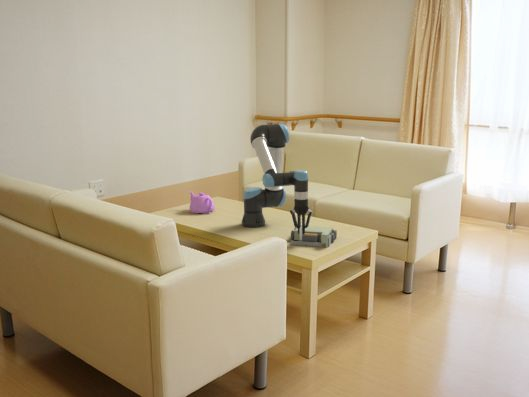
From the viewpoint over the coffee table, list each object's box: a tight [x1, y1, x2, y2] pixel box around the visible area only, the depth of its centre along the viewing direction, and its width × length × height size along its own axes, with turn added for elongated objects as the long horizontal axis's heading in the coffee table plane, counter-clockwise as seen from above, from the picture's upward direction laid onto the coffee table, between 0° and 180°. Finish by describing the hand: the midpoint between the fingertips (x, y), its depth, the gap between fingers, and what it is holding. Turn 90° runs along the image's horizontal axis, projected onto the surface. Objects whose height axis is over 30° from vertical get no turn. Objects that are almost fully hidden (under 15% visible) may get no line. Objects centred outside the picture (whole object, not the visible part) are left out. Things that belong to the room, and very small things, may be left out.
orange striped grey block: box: [303, 233, 320, 243], centre depth 312 cm, size 8×5×5 cm, turn 72°
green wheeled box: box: [290, 224, 338, 248], centre depth 318 cm, size 24×20×7 cm
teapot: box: [189, 190, 216, 214], centre depth 396 cm, size 25×18×14 cm
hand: (301, 239), depth 314 cm, fingers closed
